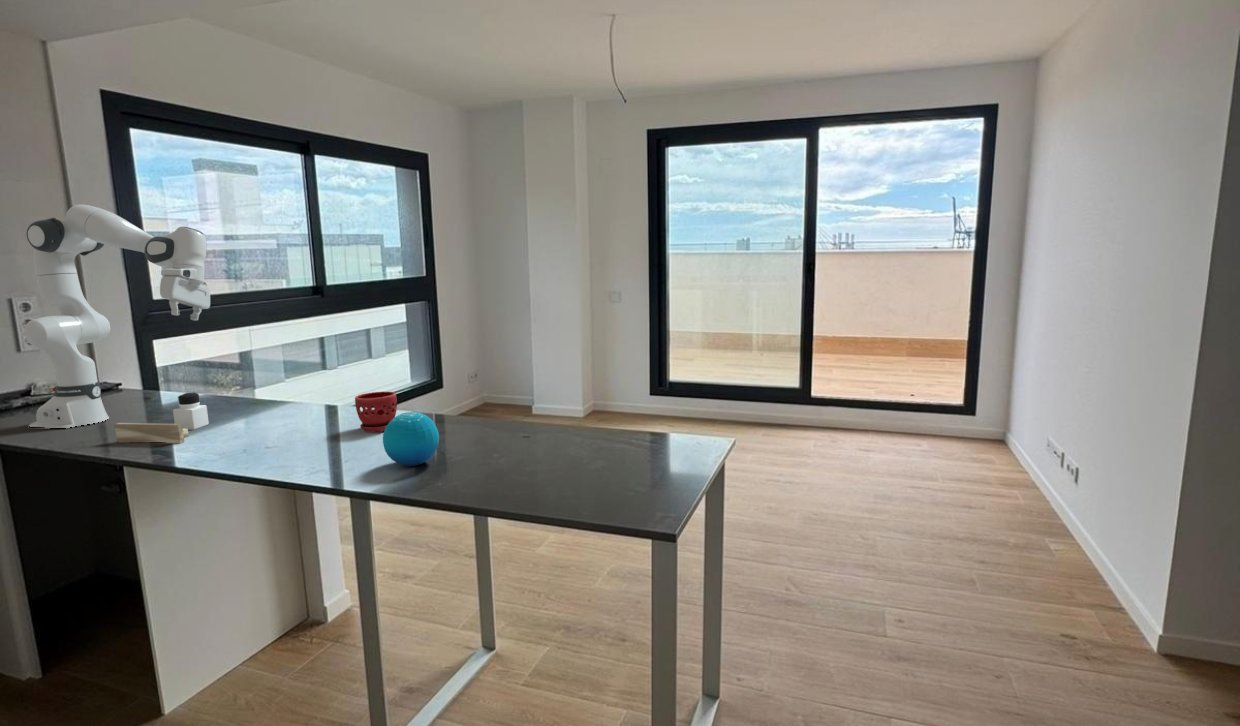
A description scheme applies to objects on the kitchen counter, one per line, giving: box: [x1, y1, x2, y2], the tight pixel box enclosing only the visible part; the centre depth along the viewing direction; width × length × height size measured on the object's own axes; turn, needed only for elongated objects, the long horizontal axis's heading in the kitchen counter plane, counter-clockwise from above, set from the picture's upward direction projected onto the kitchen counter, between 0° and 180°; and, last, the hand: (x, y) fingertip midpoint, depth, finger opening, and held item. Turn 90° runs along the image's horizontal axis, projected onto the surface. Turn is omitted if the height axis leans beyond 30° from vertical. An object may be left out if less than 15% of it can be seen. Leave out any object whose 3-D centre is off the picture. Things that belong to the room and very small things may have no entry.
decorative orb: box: [382, 411, 440, 467], centre depth 178 cm, size 15×15×15 cm
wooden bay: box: [113, 422, 190, 444], centre depth 208 cm, size 8×22×6 cm, turn 84°
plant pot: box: [354, 391, 398, 433], centre depth 216 cm, size 13×13×12 cm
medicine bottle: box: [172, 392, 210, 431], centre depth 221 cm, size 7×7×12 cm
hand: (184, 317), depth 209 cm, fingers open, 8 cm apart
